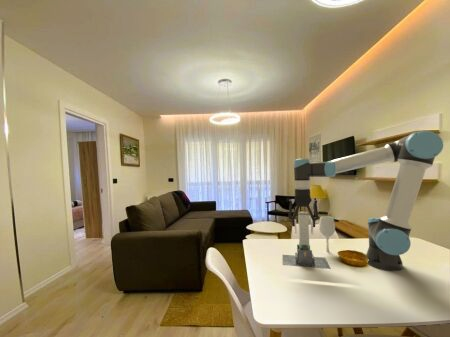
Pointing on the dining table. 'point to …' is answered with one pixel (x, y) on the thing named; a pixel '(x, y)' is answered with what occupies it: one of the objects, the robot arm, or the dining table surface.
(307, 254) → the stand base
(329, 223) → the wineglass
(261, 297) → the dining table surface
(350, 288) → the dining table surface
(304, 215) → the column
